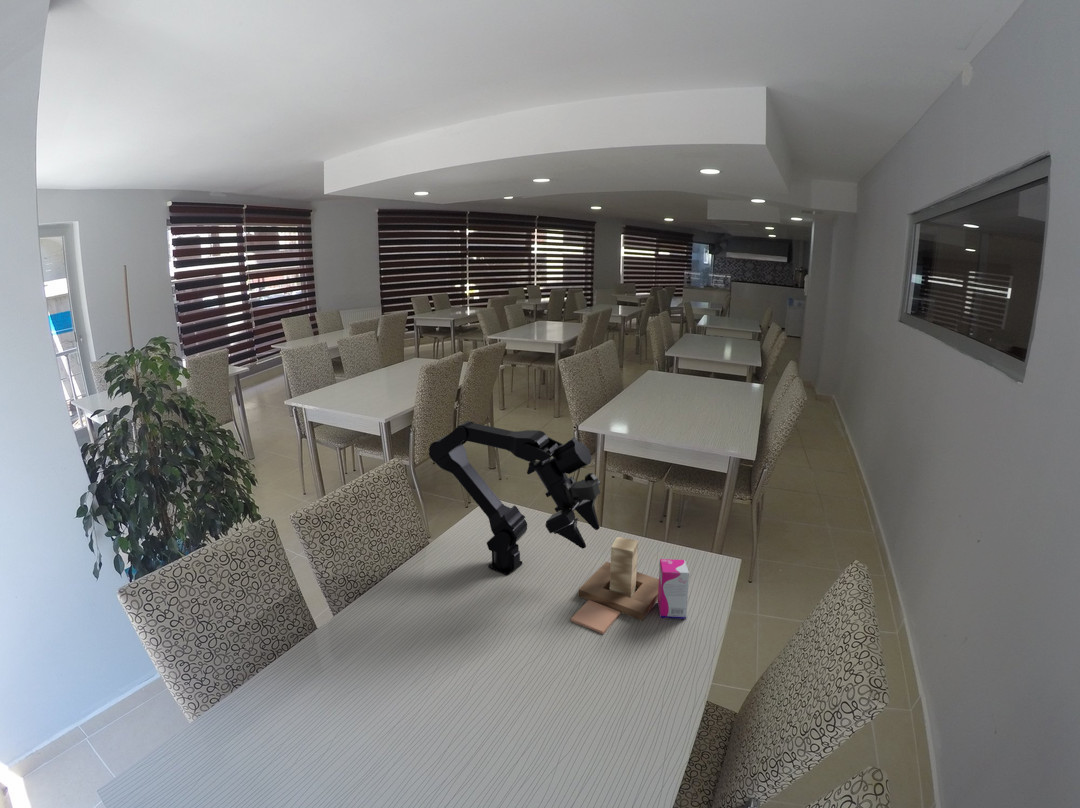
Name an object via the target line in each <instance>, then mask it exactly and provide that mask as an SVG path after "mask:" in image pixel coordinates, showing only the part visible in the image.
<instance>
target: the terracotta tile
mask: <svg viewBox="0 0 1080 808" xmlns="http://www.w3.org/2000/svg"><path fill="white" fill-rule="evenodd" d="M620 615H621V613H620V612H619V611H617V610H614V609H611V608H609V607H606V606H604V605H601V604H598V603H596V602H593V601H590V600H586V602H585V603H584V604H583V605H582V606H581V607H580V609H578V610H577V611H576V612H575V614H574V615H573V616H572V617H571V618H570V621H571V622H573V623H575V624H577V625H580V626H582V627H584V628H587V629H590V630H592V631H595V632H597V633H599V634H602V635H604V634H605V633H606V632H607V631H608V630H609V628H610V627H611V626H612V625H613V624H614V623H615V621H616V620H617V619H618V618H619V616H620Z"/></svg>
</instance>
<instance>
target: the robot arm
mask: <svg viewBox="0 0 1080 808" xmlns="http://www.w3.org/2000/svg"><path fill="white" fill-rule="evenodd" d="M467 442H470V443H474V444H479V445H483V446H487V447H491V448H492V447H493V448H497V449H500V450H501V449H502V450H505V451H508V452H510V453H511V454H512V455H514V456H515V458H518V459H521V460H524V461H526V462H528V468H527V471H526V474H527V475H531V474H533V473H534V472H535V473H536V475H537V476H538V478H539V479H540V481H541V483H542V485H543V486H544V488H545V489H546V490H547V491H546V492H544V495H545V496H546V497H547V498H549V497H551V499H552V500H553V502H554V503H555V505H556V506H555V507H554V511H555V512H556V513H553V514H552V515H550V517H549V518H548V519H547V520H546V521H545V525H544V526H545V528H546V530H547V532H548V533H549V534H552V533H553V534H554V535H556V534H558V535H559V536H561V537H563V538H565V539H567V540H568V541H570V542H572V543H573V544H575V545H576V546H577V547H579V548H581V549H582V550H583V549H585V548H586V547H587V545H586V542H585V540H584V538H583V536H582V534H581V532H580V530H579V528H578V522H579V521H578V520H579V518H578V517H577V518H576V514H575V512H574V511H576V512H577V514H579V516H581V517H582V518H583V519H584V520H585V522H587V523H588V525H590V527H592V528H593V529H594V530H595V531H598V530H600V523H599V520H598V515H597V511H596V509H595V503H596V500H597V496H599V495H600V494H601V489H600V484H601V481H600V480H599V478H598V476H596V475H595V473H593V472H590V473H587V474H586V475H585V476H584V479H581V480H579V481H577V480H576V478H574V477H573V476H570V477H568V475H571V474H573V473H574V472H576V471H578V470H580V469H583V468H584V467H587V466H588V465H590V464H591V462H592V455H591V452H590V449H589V448H588V446H587V445H585V444H584V443H583V442H581V441H578V439H577V438H576V437H571V438H570V439H569V440H568V441H567V442H565V443H561V442H559V441H557V440H555V439H553V438H552V437H549V436H548V435H547V434H546V433H545V432H544V431H542V430H534V429H533V430H528V429H526V430H520V431H513V430H509V429H508V430H507V429H505V428H504V429H503V428H498V427H493V426H489V425H485V424H480V423H475V422H474V421H470V420H467V421H464V422H463V423H461V424H459V425H457V426H456V427H455V429H454V430H453V431H451V432H450V433H449V434H446V435H444V436H442V437H441V438H439V439H437V440H435V441H433V442H431V444H430V445H429V447H428V455H429V458H430V459H431V460H432V461H433V462H434V464H436V465H437V466H438V467H439V468H440V469H442V470H444V471H446V472H449V473H450V474H452V475H453V477H455V478H456V479H457V481H458V482H459V483H460V484H461V486H462V488H463V489H465V491H466V492H467V493H468V495H469V496H470V497H471V498H472V500H473V501H474V502H475V503H476V504H477V505H478V507H479V508H480V509H481V510H482V512H483V513H484V514H485V515H486V517H487V518H488V521H489V526H490V531H491V532H492V534H493V536H492V537H491V538H490V539H489V540H488V541H487V542H486V545H487V549H488V550H489V552H491V563H489V564H488V567H487V568H488V569H491V570H493V571H496V572H498V573H501V574H503V575H506V576H509V575H511V574H512V573H513V572H514V571H516V569H518V568H519V567H520V566H522V565H523V561H522V560H521V552H520V549H519V544H517V542H518V541H519V540H520V539H521V538H522V537H523V536H524V535H525V534H526V533H527V531H528V522H527V520H526V519H525V518H526V516H525V515H524V514H522V513H521V511H520V510H519V508H518V507H517V506H516V505H513V506H512V507H509V506H507V505H505V504H504V503H503V502H502V501H501V500H500V499H499V497H498V496H497V495H496V493H495V492H494V490H492V488H490V486H489V485H488V483H487V482H486V481H485V480H484V479H483V477H482V476H481V475H480V474H479V472H477V470H476V469H475V468H474V467H473V465H472V464H471V463H470V462H469V460H468V454H467V449H466V447H464V445H465V444H466V443H467Z"/></svg>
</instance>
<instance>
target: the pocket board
mask: <svg viewBox="0 0 1080 808" xmlns="http://www.w3.org/2000/svg"><path fill="white" fill-rule="evenodd" d="M610 568H611V562H608V561H605V562H604V563H603V564H602V565H601V566H600V567H599V568H598V569H597V570H596V571H595V572H594V573H593V574H592V575H591V576H590V577H589V578H588V579H586V581H585V582H584V583H583V584H582V585H581V586H580V587H579V588H578V589H577V590H578V595H577V596H578V598H581V599H584V600H586V601H588V600H590V601H593V602H596V603H598V604H601V605H604V606H606V607H609V608H611V609H614V610H617V611H619V612H620V614H622V615H626V616H628V617H631V618H633V619H636V620H639V621H640V622H643V620H644V619H645V618H646V617H647V615H648V614H649V613H650V611H651V610H652V609H653V607H654V606H655V604H656V603H658V587H659V578H656V577H653V576H650V575H648V574H644V573H642V572H638V571H637V572H636V589H637V590H635V592H634V594H633V595H632V597H631V598H629V597H626V596H623V595H621V594H618V593H615V592H612V591H610Z"/></svg>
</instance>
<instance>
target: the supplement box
mask: <svg viewBox="0 0 1080 808" xmlns="http://www.w3.org/2000/svg"><path fill="white" fill-rule="evenodd" d="M658 579H659V587H658V601H657V607H658V612H659V613H658V614H659V618H661V619H677V620H687V613H688V611H687V610H688V600H689V599H688V598H689V597H688V596H689V595H688V594H689V582H690V581H689V580H690V571H689V568H688V566H687V562H686V560H685V559H668V558H667V559H666V558H660V559H659V570H658Z"/></svg>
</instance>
